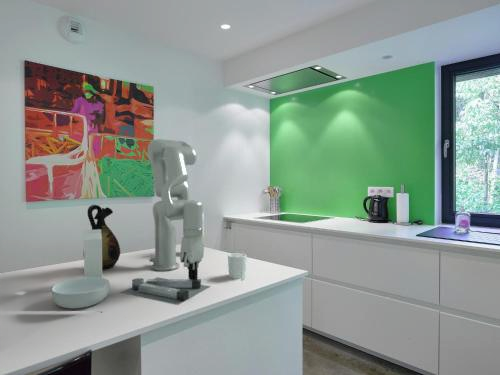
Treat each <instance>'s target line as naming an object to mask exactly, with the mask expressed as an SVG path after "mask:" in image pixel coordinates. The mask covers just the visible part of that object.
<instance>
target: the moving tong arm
mask: <svg viewBox="0 0 500 375" xmlns="http://www.w3.org/2000/svg"><path fill="white" fill-rule="evenodd" d="M144 282H146V284H152V285H157V286H163V287H168V288H200V287H201V285H202V279H201V278H197V279H189V278H188V279H183V278H182V279H178V278H177V279H176V278H175V279H172V278H171V279H170V278H164V279H154V278H152V279H151V278H150V279H149V278H148V279H147V280H146V281H145V280H144V278H140V277H139V278H138V277H137V278H133V279H132V280H131V285H132V286H131V288H132V289H134V290H139V284H142V283H144Z"/></svg>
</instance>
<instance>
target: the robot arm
mask: <svg viewBox="0 0 500 375" xmlns="http://www.w3.org/2000/svg"><path fill="white" fill-rule="evenodd" d="M196 152H197V151H196V150H195V149H194V147H193V146H192V145H190V144H188V143H187V142H186V141H183V140H176V139H175V140H173V139H153V140H150V142H149V143H148V146H147V155H148V159H149V162H150V165H151V168H152V174H153V176H152V177H153V178H152V179H153V186H154V187H153V189H154V193H155V196H156V197H157V198H160V199H161V200H159V201H156V202H155V203H154V204H153V206H152V216H153V220H154V221H153V224H154V256H151V257H150V258H149V260H148V261H149V262H151V263H152V265H151V269H152V270H153V271H158V272H164V271H165V272H167V271H168V272H169V271H173V270H177V269H178V268H179V267H180V264H179V263H178V262H177V247H176V246H177V245H176V244H177V239H176V238H177V235H176V234H177V233H176V232H177V231H176V227H175V226H174V224H173V223H172V222H171V221H183V222H182V223H183V224H182V232H183V233H182V238H181V244H180V258H179V260H180V263H183V267H185V268H187V270H188V279H199V277H198V271H199V270H198V269H199V265H200V263H201V262H202V261H203V259H204V253H205V252H204V250H205V248H204V247H205V244H204V245H203V213H204V212H203V202H201V201H198V200H197V201H196V200H195V199H190V189H189V185H188V181H187V180H188V179H189V174H188V173H189V172H188V170H187V169H188V168H187V166H193V165H195V164H196V161H197V153H196ZM172 198H173V199H172ZM174 198H176V199H174Z"/></svg>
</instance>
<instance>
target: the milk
mask: <svg viewBox="0 0 500 375" xmlns="http://www.w3.org/2000/svg"><path fill="white" fill-rule="evenodd" d="M83 233H84V234H83V253H84V256H83V261H84V262H83V263H84V264H83V265H84V266H83V269H84V270H83V272H84V277H100V278H103V270H102V235H101V229H97V230H92V229H86V230H84V232H83Z"/></svg>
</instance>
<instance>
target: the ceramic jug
mask: <svg viewBox="0 0 500 375" xmlns="http://www.w3.org/2000/svg"><path fill="white" fill-rule="evenodd" d="M95 210H96V211H97V212H96V213H95V215H93V212H94V211H95ZM113 213H114V212H113V210H112V208H110V207H108V206H107V207H105V208H104V207H101V206H100V205H97V204H92V205H90V206H89V207H88V208H87V217H88V220H89V223H90V226H91V230H97V229H101V235H102V271H106V270H111V269H113V268H114V267H115V266H116V265H117V262H118V261H119V259H120V256H121V246H120V243H119V241H118V239H117V237H116V235H115V234H114V233H113V231H112V230H111V229H110V228H109V226H108V225H107V223H106V220H105V219H106V218H107V217H109V216H110V215H112V214H113ZM95 220H96V221H95ZM83 257H84V252H83Z"/></svg>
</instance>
